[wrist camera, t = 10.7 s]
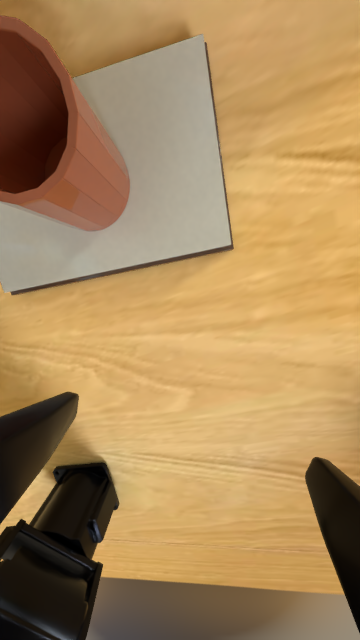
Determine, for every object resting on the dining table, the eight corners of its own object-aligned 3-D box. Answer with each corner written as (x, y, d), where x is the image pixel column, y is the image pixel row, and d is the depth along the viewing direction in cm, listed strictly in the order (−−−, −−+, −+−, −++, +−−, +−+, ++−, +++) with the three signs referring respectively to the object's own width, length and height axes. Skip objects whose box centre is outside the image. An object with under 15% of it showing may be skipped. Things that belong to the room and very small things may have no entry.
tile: (16, 294, 20) (2, 296, 18) (-43, 132, 17) (-65, 119, 15) (232, 250, 17) (236, 247, 16) (206, 50, 14) (207, 25, 13)
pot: (60, 239, 17) (-33, 217, 10) (33, 146, 15) (-99, 45, 8) (139, 221, 16) (96, 183, 9) (117, 120, 14) (46, -14, 8)
